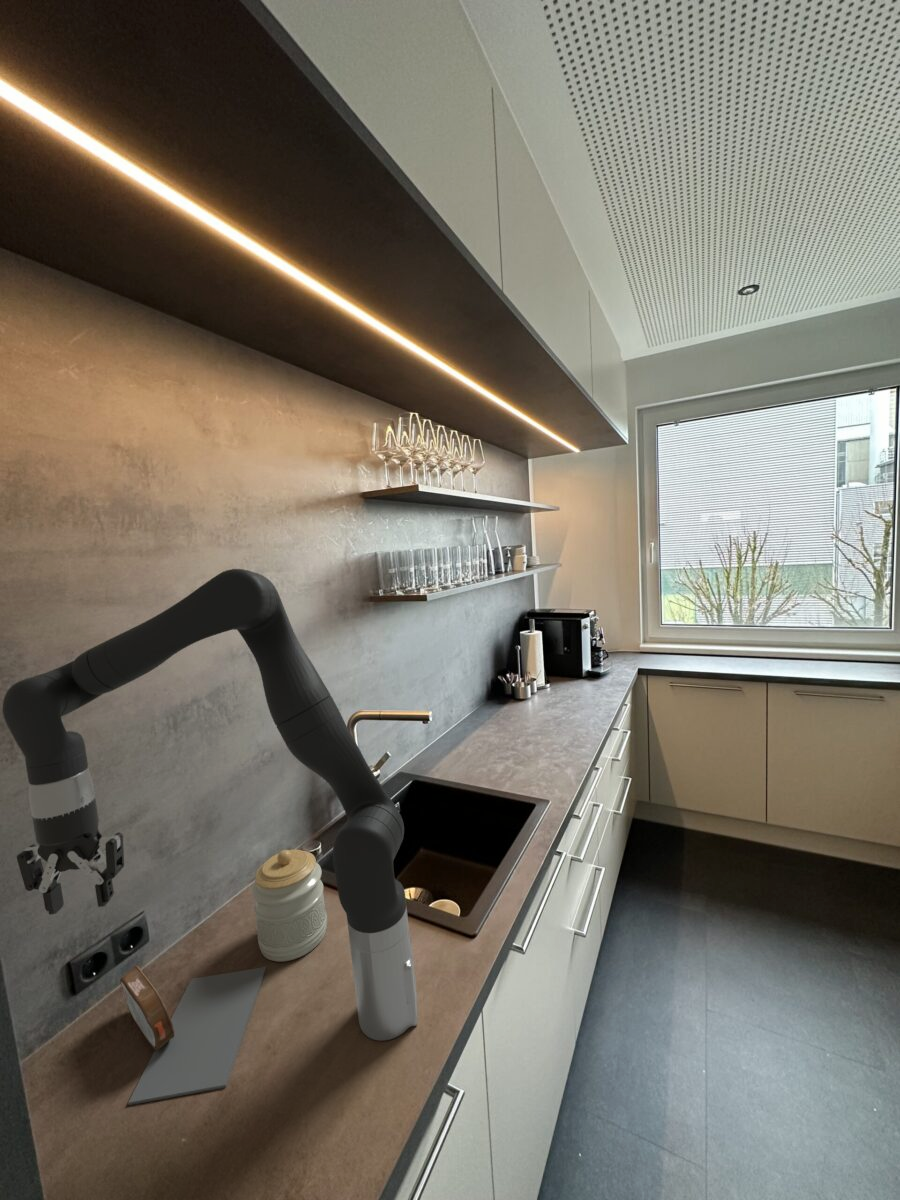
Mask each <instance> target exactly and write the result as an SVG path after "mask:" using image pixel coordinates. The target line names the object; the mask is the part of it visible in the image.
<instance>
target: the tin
mask: <svg viewBox="0 0 900 1200" xmlns="http://www.w3.org/2000/svg"><path fill="white" fill-rule="evenodd" d="M119 984H120V985H121V988H122V990H123V994H124V997H125V1002H126V1005H127V1006H126V1007H127V1008H128V1011H129V1013H130V1014H131V1017H132V1019H133V1021H135V1023H136V1026H137V1027H138V1029H139V1031H140V1032H141V1033H142V1035H143V1037H144V1038H145V1039H146V1040H147V1043H148V1044H149V1045H150V1047H151V1048H152V1049H153V1050H154V1051H155V1050H158V1049H159V1048H161V1047H162V1046H163V1045H164V1044H165V1043H167V1042H168V1041H169V1040H170V1039H171V1038H174V1029H173V1025H172V1022H171V1017H170V1015H169V1011H168V1009H167V1006H166V1005H165V1003H164V1001H163V999H162V997H161V995H160V993H159V992H158V989H156V988H155V986H154V985H153V984H152V982H151V981H150V980H149V979H148V977H147V975H145V974H144V971H142V969H141V968H140V967H139V966H138V965H135V966H134V968H132V969H131V970H129V971H128V972H127V973H126V974H124V975H122V977H121V978H120V979H119Z"/></svg>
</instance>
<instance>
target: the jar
mask: <svg viewBox="0 0 900 1200" xmlns="http://www.w3.org/2000/svg"><path fill="white" fill-rule="evenodd" d="M321 877H322V868H321V865H320V864H319V863H318V862H317V859H316V857H315V855H314V854H313V853H311V852H309V851H306V850H301V849H283V850H281V851H280V852H278V853H276V854H274V855H273V856H271V857H270V858H268V859H267V860H266V861H264V863H262V864H261V866H259V867H258V869H257V870H256V872H255V875H254V882H253V885H252V887H251V895H252V898H253V899H254V900H255V901H254V904H253V912H254V914H255V919H256V927H257V928H256V929H257V943H258V947H259V949H260V951H261V953H262V955H263V957H264V958H265V959H267V960H270V961H274V962H289V961H293V960H296V959H298V958H301V957H303V956H305V955H307V954H308V953H310V952H311V951H312V950H314V949H315V948H316V947H317V946H318V945H319V944H320V943H321V942H322V940H323V939H324V937H325V935H326V932H327V926H328V913H327V910H326V905H325V896H324V883H323V881H322V880H321Z"/></svg>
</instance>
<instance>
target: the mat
mask: <svg viewBox="0 0 900 1200" xmlns="http://www.w3.org/2000/svg"><path fill="white" fill-rule="evenodd" d="M266 971H267V967H266V966H264V967H263V966H262V967H257V968H256V967H255V968H250V969H245V970H243V969H242V970H237V971H233V972H226V973H220V974H213V975H208V976H202V977H196V978H191V979H190V981H189V982H188V985H187V986H186V989H185V991H184V993H183V994H182V997H181V998H180V1001H179V1002H178V1003H177V1006H176V1008H175V1011H174V1012H173V1015H172V1016H171V1017H170V1019H171V1022H172V1025H173V1029H174V1038H171V1039H170V1040H169V1041H168V1042H167V1043H165V1044H164V1045H163V1046H162V1047H161V1048H159V1049H158V1050H154V1052H153V1053H152V1055H151V1057H150V1059H149V1061H148V1063H147V1065H146V1067H145V1069H144V1071H143V1073H142V1075H141V1077H140V1079H139V1081H138V1082H137V1085H136V1086H135V1088H134V1090H133V1093H132V1094H131V1097H130V1098H129V1100H128V1102H127V1103H128V1106H133V1105H137V1104H143V1103H147V1102H153V1101H159V1100H163V1099H169V1098H175V1097H180V1096H186V1095H191V1094H197V1093H202V1092H208V1091H212V1090H218V1089H219V1090H220V1089H224V1088H225V1089H226V1088H227V1086H228V1084H229V1079H230V1077H231V1075H232V1074H231V1073H232V1071H233V1068H234V1065H235V1062H236V1059H237V1056H238V1053H239V1051H240V1046H241V1044H242V1040H243V1038H244V1035H245V1032H246V1030H247V1027H248V1023H249V1020H250V1018H251V1014H252V1011H253V1009H254V1006H255V1003H256V1000H257V996H258V994H259V991H260V988H261V985H262V982H263V979H264V976H265V974H266Z"/></svg>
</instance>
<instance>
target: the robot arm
mask: <svg viewBox="0 0 900 1200" xmlns="http://www.w3.org/2000/svg"><path fill="white" fill-rule="evenodd" d="M231 630H232V631H234V630H235V631H236V630H237V631H238V633H239V635H240V636H241V638H242V639H243V640H244V641H245V643H246V645H247V647H248V649H249V651H250V652H251V653H252V655H253V657H254V659H255V662H256V663H257V666H258V669H259V672H260V676H261V681H262V682H261V683H262V686H263V691H264V696H265V701H266V704H267V707H268V710H269V713H270V716H271V718H272V721H273V722H274V725H275V726H276V729H277V731H278V732H279V734H280V736H281V738H282V740H283V742H284V743H285V745H286V747H287V748H288V750H289V752H290V754H292V755H293V756H294V757H295V758H296V759H297V760H298V761H299V762H300V763H301V764H303V765H304V766H305V767H307V768H308V769H309V770H311V771H312V772H314V773H315V774H316V775H317V776H319V777H321V779H323V780H324V781H325V782H326V783H327V784H328V785H329V786H330V787H331V789H332V790H333V792H334V793H335V795H336V797H337V798H338V800H339V802H340V804H341V806H342V808H343V810H344V813H345V816H346V817H347V820H346V821H345V823H344V824H343V826H342V827H341V828H340V830H339V831H338V832H337V834H336V836H335V838H334V840H333V848H332V861H333V869H334V876H335V881H336V888H337V893H338V898H339V899H338V900H339V902H340V905H341V907H342V909H343V911H344V913H345V915H346V921H347V929H348V930H347V931H348V937H349V939H348V941H349V947H350V948H349V949H350V955H351V965H352V973H353V981H354V982H353V983H354V992H355V1000H356V1010H357V1011H356V1012H357V1017H358V1024H359V1027H360V1029H361V1031H362V1033H363V1034H364V1035H365V1036H366V1037H368V1038H369V1039H371V1040H374V1041H389V1040H392V1039H396V1038H397V1037H399V1036H401V1035H402V1034H404V1033H405V1032H406V1031H407V1030H409V1029H410V1028H411V1027H416V1026H417V1025H418V999H417V997H418V995H417V992H418V991H417V983H416V972H415V963H414V954H413V947H412V946H413V945H412V939H411V938H410V928H409V919H408V918H409V917H408V910H407V909H408V908H407V899H406V892H405V888H404V886H403V884H402V883H401V882H400V881H399V880H397V879H396V878H395V870H394V860H395V859H396V856H397V853H398V851H399V850H400V847H401V845H402V843H403V841H404V835H405V826H404V821H403V818H402V815H401V813H400V811H399V810H398V807H397V806H396V805H395V803H394V802H393V800H392V798H391V797H390V796H389V794H388V793H387V791H386V789H384V787H383V785H382V784H381V783H380V781H379V780H378V778H377V777H376V775H375V774H374V773H373V771H372V770H371V768H370V766H369V765H368V762H367V760H366V758H365V757H364V755H363V754H362V753H363V752H361V750H360V748H359V746H358V744H357V741H355V739H354V737H353V735H352V734H351V732H350V729H349V728H348V726H347V724H346V722H345V720H344V718H343V716H342V714H341V712H340V709H339V708H338V706H337V704H336V702H335V700H334V698H333V697H332V695H331V693H330V691H329V690H328V687H327V686H326V684H325V683H324V681H323V680H322V677H321V676H320V674H319V673H318V671H317V669H316V667H315V666H314V664H313V662H312V661H311V659H310V658H309V657H308V655H307V653H306V651H305V650H304V649H303V647H302V646H301V644H300V641H299V640H298V638H297V636H296V633H295V631H294V629H293V626H292V624H291V621H290V619H289V617H288V614H287V612H286V609H285V607H284V604H283V602H282V599H281V597H280V594H279V592H278V590H277V588H276V587H275V585H274V583H273V582H272V581H271V580H269V578H268V577H266V576H264V575H263V574H260V573H257V572H254V571H251V570H248V569H243V568H232V569H227V570H223V571H221V572H220V573H218V574H216V575H215V576H214V577H212V578H211V579H209V580H208V581H206V582H205V583H204V584H202V585H200V586H199V587H198V588H197V589H195V590H194V591H192V592H191V593H189V594H188V595H187V596H186V597H184V598H182V599H181V600H179V601H178V602H176V603H175V604H173V605H172V606H170V607H169V608H167V609H165V610H164V611H162V612H160V613H159V614H156V615H155V616H154V617H152V618H150V619H148V620H146V621H144V622H142V623H139V624H138V625H136V626H133V627H132V628H130V629H128V630H126V631H124V632H121V633H119V634H117V635H115V636H113V637H111V638H109V639H107V640H105V641H104V642H101V643H99V644H98V645H95V646H94V647H92V648H89V649H87V650H85V651H83V652H82V653H81V654H79V655H78V656H77V657H75V659H74V660H72V661H70V662H68V663H66V664H64V665H61V666H59V667H56V668H55V669H53V670H50V671H49V670H48V671H47V672H43V673H40V674H37V675H34V676H31V677H27V678H24V679H21V680H19V681H17V682H16V683H13V684H12V685H11V686H10V688H8V690H7V691H6V692H5V695H4V698H3V702H2V715H3V718H4V721H5V723H6V726H7V727H8V729H9V731H10V733H11V735H12V737H13V739H14V741H15V743H16V745H17V746H18V748H19V749H20V751H21V753H22V755H23V756H24V761H25V769H26V773H27V779H28V789H29V790H28V793H29V794H28V797H29V799H28V801H29V806H30V813H31V818H32V825H33V829H34V830H33V831H34V836H35V841H36V843H37V845H36V844H33V843H32V844H30V845H29V846H27V847H25V849H23V850H22V851H21V852H20V853H19V854H18V853H17V855H16V859H17V863H18V868H19V871H20V874H21V878H22V882H23V885H24V889H25V890H26V891H28V892H31V891H33V890H37V891H39V893H41V894H42V897H43V904H44V909H45V910H46V912H48V915H56V914H57V913H58V912H59V911H60V910H61V909H62V908H64V896H63V892H62V891H63V890H62V885H61V882H59V878H60V877H61V874H62V873H63V872H66V871H68V870H74V871H76V870H80V872H82V873H83V875H85V876H88V877H90V878H91V880H92V881H93V882H94V883H95V885H94V889H95V895H96V901H97V907H98V908H101V907H106V905H107V904H108V903H109V902H110V901H111V900H112V897H113V896H114V893H115V892H114V885H113V879H115V877H116V876H118V874H119V873H120V872H121V871H122V869H124V867H125V851H124V834H123V833H122V832H116V833H115V834H114V835H111V836H110V835H109V836H103V834H102V833H101V832H100V831H99V822H100V821H99V820H100V819H99V813H98V808H97V807H98V806H97V802H96V801H97V800H96V794H95V789H94V788H95V787H94V786H95V785H94V781H93V777H92V775H91V772H90V767H89V764H88V758H87V757H88V756H87V749H86V744H85V740H84V738H83V736H82V735H81V733H79V732H78V731H73V730H72V731H71V730H70V731H66V727H65V726H64V724H63V721H62V717H63V716H66V715H68V714H70V713H72V712H74V711H76V710H78V709H79V708H81V707H83V706H85V705H86V704H88V703H90V702H92V701H94V700H96V699H98V698H99V697H101V696H102V695H105V694H106V693H110V692H112V691H114V690H116V689H118V688H119V689H120V688H121V687H123V686H125V685H126V684H128V683H131V682H133V681H135V680H136V679H139V678H140V677H142V676H144V675H146V674H148V673H150V672H151V671H153V670H154V669H156V668H158V667H159V666H160V665H163V664H164V663H165V662H166V661H168V660H169V659H171V657H173V656H174V655H176V654H177V653H179V652H180V651H182V650H184V649H185V648H187V647H190V646H191V645H193V644H195V643H198V642H200V641H202V640H205V639H207V638H210V637H212V636H216V635H219V634H222V633H225V632H229V631H231ZM100 847H101V848H102V850H101V849H100ZM42 859H43V860H44V861H45V862H46V866H45V867H44V865H43V863H42ZM92 860H93V862H92V863H91V861H92Z"/></svg>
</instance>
